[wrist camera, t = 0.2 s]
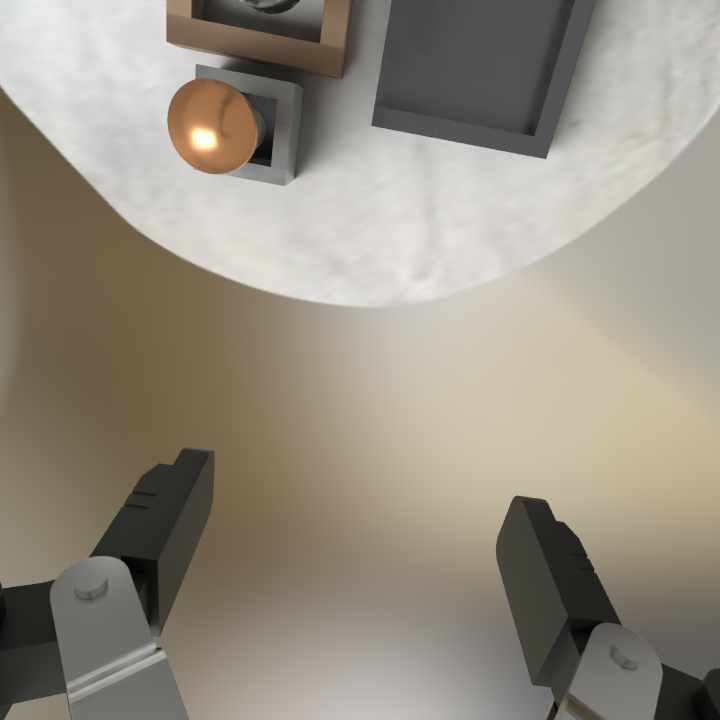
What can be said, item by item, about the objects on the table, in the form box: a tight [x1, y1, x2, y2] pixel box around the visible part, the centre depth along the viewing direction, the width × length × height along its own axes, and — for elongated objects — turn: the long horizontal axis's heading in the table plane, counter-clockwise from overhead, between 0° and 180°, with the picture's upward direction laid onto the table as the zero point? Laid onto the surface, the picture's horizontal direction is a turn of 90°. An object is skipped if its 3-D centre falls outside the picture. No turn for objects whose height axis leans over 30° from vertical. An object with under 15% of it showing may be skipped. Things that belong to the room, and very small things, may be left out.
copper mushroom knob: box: [167, 78, 265, 174], centre depth 28 cm, size 4×4×7 cm
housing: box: [193, 64, 304, 186], centre depth 33 cm, size 6×6×4 cm
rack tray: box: [371, 0, 595, 159], centre depth 31 cm, size 12×12×2 cm
